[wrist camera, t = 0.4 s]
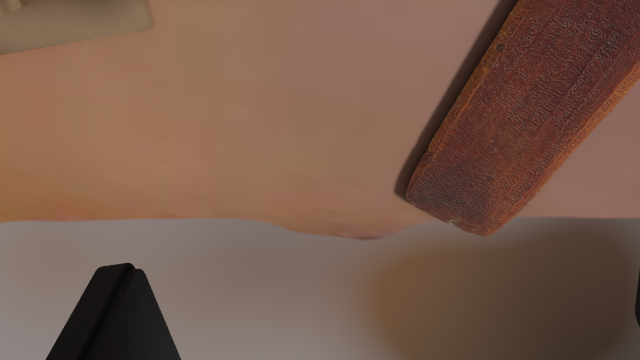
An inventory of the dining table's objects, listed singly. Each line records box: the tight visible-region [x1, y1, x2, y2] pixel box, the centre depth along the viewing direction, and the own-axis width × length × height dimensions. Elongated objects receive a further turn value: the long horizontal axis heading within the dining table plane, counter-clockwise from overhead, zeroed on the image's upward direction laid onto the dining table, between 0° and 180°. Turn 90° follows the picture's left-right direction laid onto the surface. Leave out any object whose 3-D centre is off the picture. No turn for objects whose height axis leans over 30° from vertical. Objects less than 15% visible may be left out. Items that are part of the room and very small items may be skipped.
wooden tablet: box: [406, 0, 640, 236], centre depth 37 cm, size 27×10×2 cm, turn 152°
